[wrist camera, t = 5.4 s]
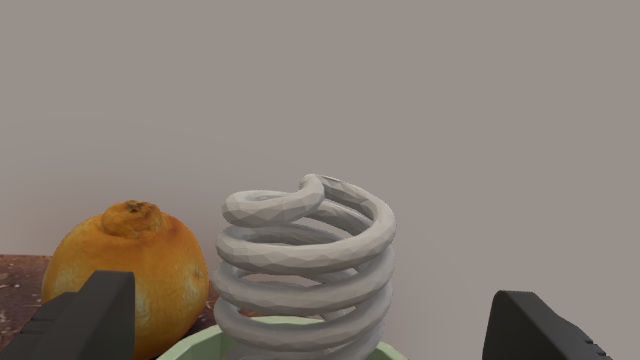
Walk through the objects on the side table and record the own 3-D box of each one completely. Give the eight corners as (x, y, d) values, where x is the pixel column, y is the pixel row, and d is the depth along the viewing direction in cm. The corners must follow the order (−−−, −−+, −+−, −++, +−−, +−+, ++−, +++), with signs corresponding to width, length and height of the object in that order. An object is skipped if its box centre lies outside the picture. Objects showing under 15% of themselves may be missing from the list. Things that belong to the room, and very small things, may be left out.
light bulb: (294, 423, 22) (320, 152, 19) (393, 515, 18) (445, 191, 15) (172, 487, 19) (182, 163, 16) (263, 620, 15) (300, 219, 12)
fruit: (200, 362, 23) (199, 187, 25) (2, 377, 22) (19, 193, 24) (213, 353, 31) (212, 221, 33) (68, 364, 29) (77, 226, 32)
